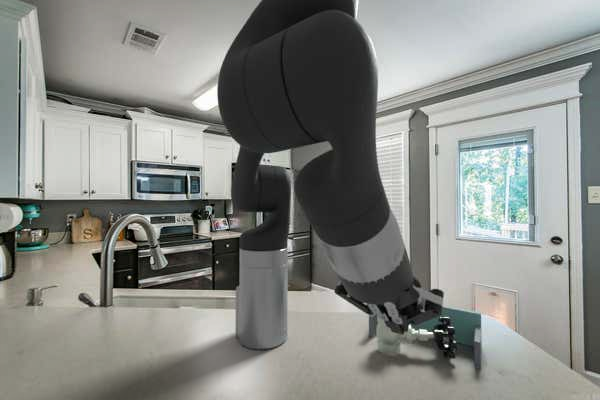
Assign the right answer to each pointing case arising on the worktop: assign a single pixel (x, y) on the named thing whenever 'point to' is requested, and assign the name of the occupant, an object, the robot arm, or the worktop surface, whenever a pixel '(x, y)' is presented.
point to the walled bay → (461, 320)
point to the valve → (391, 340)
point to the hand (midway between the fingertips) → (399, 326)
